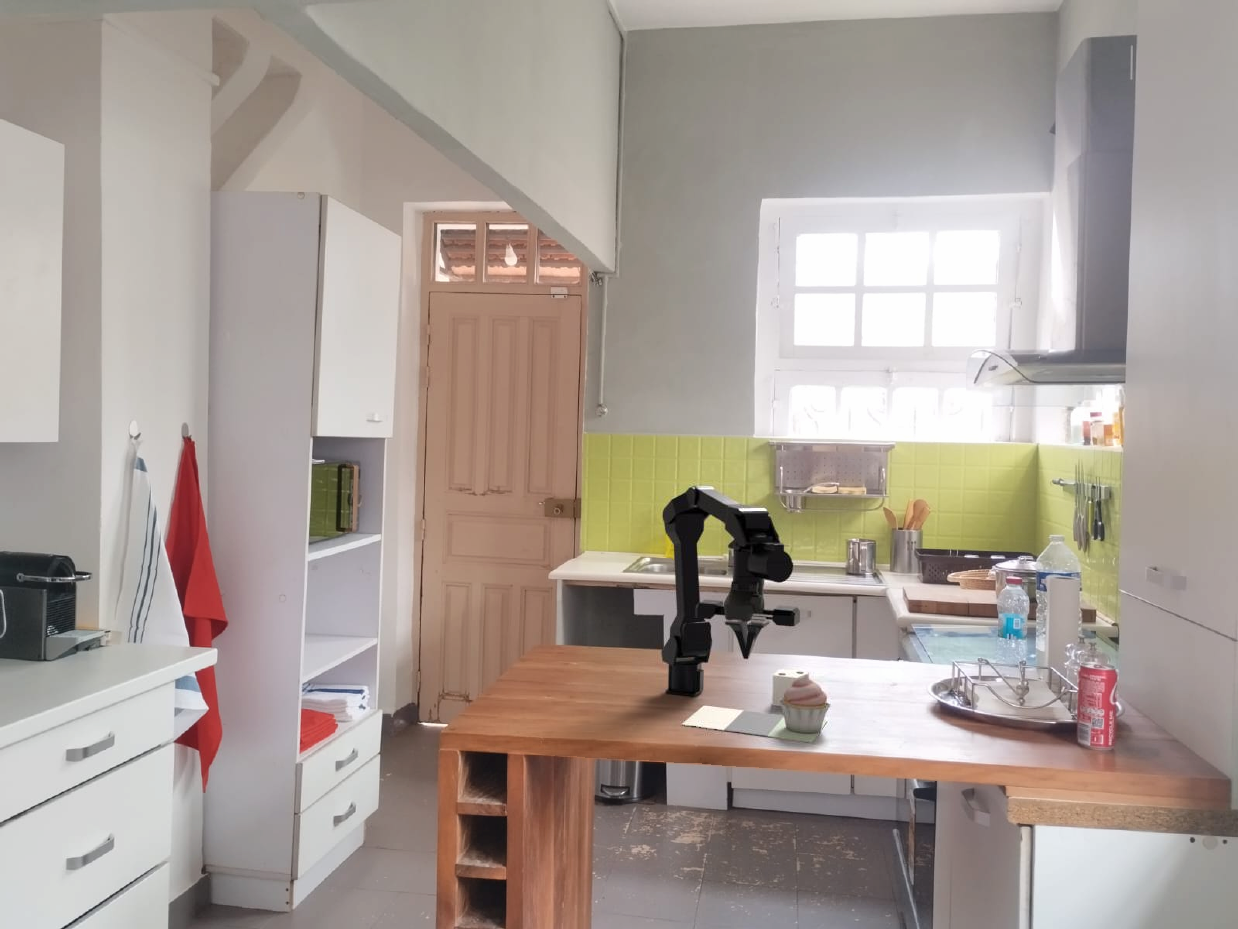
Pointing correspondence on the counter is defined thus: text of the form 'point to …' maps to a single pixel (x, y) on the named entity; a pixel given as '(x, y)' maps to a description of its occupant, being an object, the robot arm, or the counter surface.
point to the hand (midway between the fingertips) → (746, 658)
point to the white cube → (783, 683)
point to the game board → (747, 723)
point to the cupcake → (804, 706)
